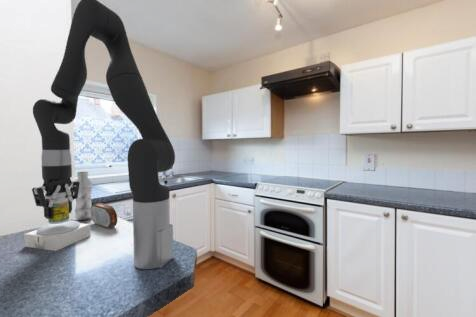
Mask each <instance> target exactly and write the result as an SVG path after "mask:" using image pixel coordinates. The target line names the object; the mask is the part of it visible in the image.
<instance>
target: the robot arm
mask: <svg viewBox="0 0 476 317" xmlns="http://www.w3.org/2000/svg"><path fill="white" fill-rule="evenodd" d="M126 31H127V30H126V28H125V25H124V22H123V20H122V18H121V17H120V16H119V14H118V13H116V12H115V11H114V10H112V9H111V8H109V7H107V5H104V4H103V3H101V2H100V1H98V0H80V1H79V2H78V4H77V6H76V7H75V10H74V13H73V16H72V20H71V24H70V28H69V32H68V37H67V40H66V44H65V45H66V46H65V49H64V55H63V58H62V60H61V63H60V67H59V69H58V70H57V73H56V75H55V76H54V78H53V80H52V84H51V86H50V91H51V93H52V94H53V95H54V96H56V97H57V98H60V99H61V101H56V100H50V99H46V98H45V99H43V98H41V99H38V100H37V101H36V102H34V104H33V106H32V114H33V118H34V120H35V122H36V125H37V128H38V131H39V134H40V137H41V149H42V150H41V158H40V159H41V176H42V177H41V178H42V180H43V183H42V185H41V186H38V187H33V188H31V192H32V195H33V198H34V202H35V206H36V207H42V208H43V217H44V218H45V219H47V220H48V219H52V218H53V207H52V205H53V203H54V200H56V198H57V195H58V193H62V192H65V193H66V195H65V198H67V199H68V201H69V214H71V213H72V210H73V201H74V200H76V199H77V198H78V191H79V184H80V182H77V181H76V180H75V181H73V180H72V179H71V178H72V176H73V171H72V170H73V169H72V168H73V166H72V154H71V150H70V149H71V140H70V139H71V138H70V134H69V133H68V132H66V131H62V130H60V129H58V128H57V127H56V125H55V124H58V125H68V124H70V123H72V122H73V121H74V120H75V118H76V116H77V108H78V101H79V96H80V94H81V93H82V90H83V88H84V86H85V84H86V81H87V79H88V70H87V63H86V47H87V46H86V45H87V43H88V41H89V38H91V37H92V38H95V39H96V40H97V41H101V42H102V43H103V44H104V46H105V48H106V50H107V52H108V54H109V57H110V61H109V65H108V66H107V69H106V74H105V79H106V84H107V87H108V90H109V92H110V95H111V98H112V100H113V102H114V103H115V105H116V106H117V108H118V109H119V110H120V111H121V112H122V113H123V114H124V115H125V116H126V118H127V119H128V120H129V121H130V122H131V123H132V124H133V125H134V126H135V127H136V129H137V130H138V132H139V134H140V136H141V138H137V139H135V140H134V141H132V143H131V144H130V146H129V148H128V152H127V170H128V182H129V183H128V184H129V188H130V191H131V194H132V223H133V224H132V227H133V228H132V229H133V232H132V234H133V265H134V267H136V268H137V269H140V270H153V269H162V268H164V266H166V265H167V264H168V263H169V262H170V261H171V260H172V259H173V258H174V224H173V223H170V222H171V221H170V220H171V219H170V218H171V217H170V216H171V214H170V213H171V211H170V205H171V204H170V202H171V201H170V188H169V187H168V186H167V185H163V184H161V183H160V181H159V173H164V172H168V171H169V170H170V169H172V168H173V166H174V164H175V161H176V154H175V152H176V151H175V150H174V147H173V145H172V143H171V141H170V139H169V137H168V134H167V132H166V130H165V129H164V127H163V125H162V123H161V121H160V119H159V117H158V114H157V112H156V110H155V108H154V105H153V102H152V101H151V99H150V95H149V92H148V89H147V87H146V84H145V82H144V79H143V77H142V74H141V73H140V70H139V68H138V65H137V63H136V60H135V57H134V55H133V52H132V49H131V46H130V43H129V39H128V35H127V32H126ZM50 195H51V197H50Z"/></svg>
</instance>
